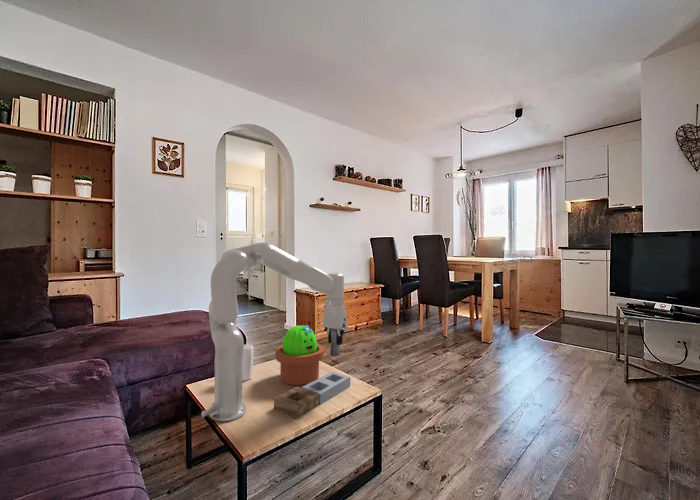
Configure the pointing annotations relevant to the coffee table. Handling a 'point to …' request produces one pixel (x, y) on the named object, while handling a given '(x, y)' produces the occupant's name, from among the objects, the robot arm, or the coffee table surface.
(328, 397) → the peg rack
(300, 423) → the coffee table surface
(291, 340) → the potted cactus
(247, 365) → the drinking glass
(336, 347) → the metal peg
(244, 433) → the coffee table surface
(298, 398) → the socket block
